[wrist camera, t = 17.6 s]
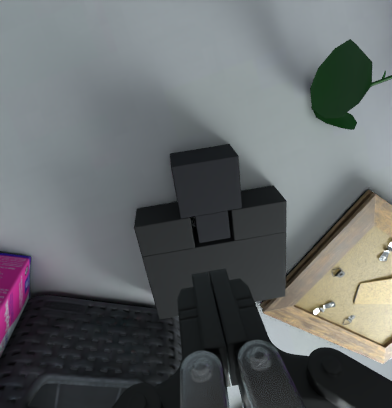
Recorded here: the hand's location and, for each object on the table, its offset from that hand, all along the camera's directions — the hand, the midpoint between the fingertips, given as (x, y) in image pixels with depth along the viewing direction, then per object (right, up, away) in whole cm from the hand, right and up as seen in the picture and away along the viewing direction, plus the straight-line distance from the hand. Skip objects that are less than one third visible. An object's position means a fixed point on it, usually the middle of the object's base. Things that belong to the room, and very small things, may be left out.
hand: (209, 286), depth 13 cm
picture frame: (+22, -7, +26) cm, 35 cm away
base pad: (+1, -1, +20) cm, 20 cm away
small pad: (0, +5, +16) cm, 17 cm away
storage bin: (-15, -20, +28) cm, 37 cm away
